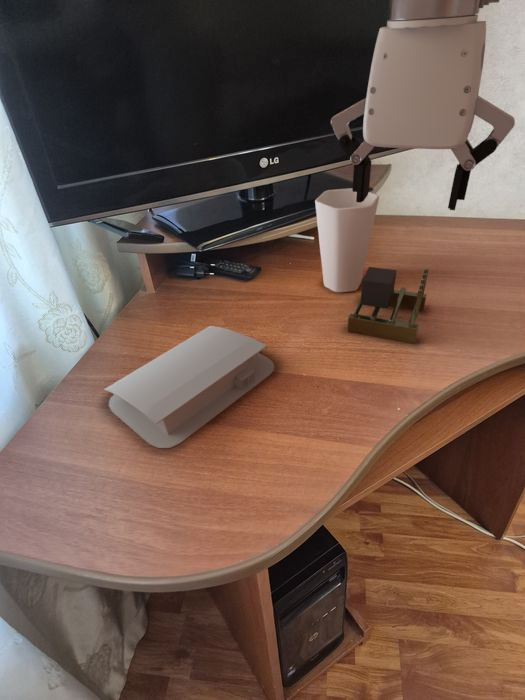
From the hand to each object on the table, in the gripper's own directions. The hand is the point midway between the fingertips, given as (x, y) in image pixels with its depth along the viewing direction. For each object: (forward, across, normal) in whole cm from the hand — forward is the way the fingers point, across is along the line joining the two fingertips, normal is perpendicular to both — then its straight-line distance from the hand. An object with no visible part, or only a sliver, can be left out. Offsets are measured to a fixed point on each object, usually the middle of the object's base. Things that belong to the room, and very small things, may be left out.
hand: (405, 202), depth 48 cm
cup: (+26, +13, -26) cm, 39 cm away
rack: (+26, +2, -16) cm, 31 cm away
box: (+22, +4, -16) cm, 28 cm away
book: (+26, +26, +10) cm, 38 cm away
